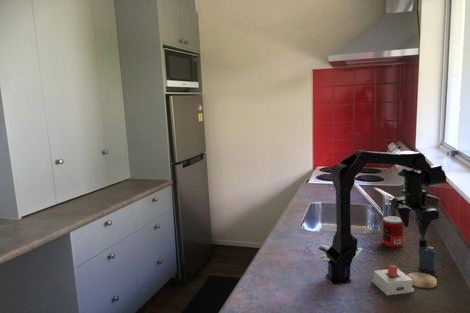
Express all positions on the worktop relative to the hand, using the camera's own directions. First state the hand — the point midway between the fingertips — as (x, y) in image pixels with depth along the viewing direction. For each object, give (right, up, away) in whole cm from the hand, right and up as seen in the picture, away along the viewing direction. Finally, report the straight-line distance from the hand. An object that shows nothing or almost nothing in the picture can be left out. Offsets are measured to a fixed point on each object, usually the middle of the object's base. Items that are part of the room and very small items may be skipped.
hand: (414, 231), depth 129 cm
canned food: (+3, -11, +25) cm, 28 cm away
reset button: (-11, -14, -9) cm, 20 cm away
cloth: (-20, -13, +21) cm, 32 cm away
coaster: (-1, -15, -6) cm, 17 cm away
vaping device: (+6, -14, +3) cm, 15 cm away
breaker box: (-11, -16, -9) cm, 22 cm away
